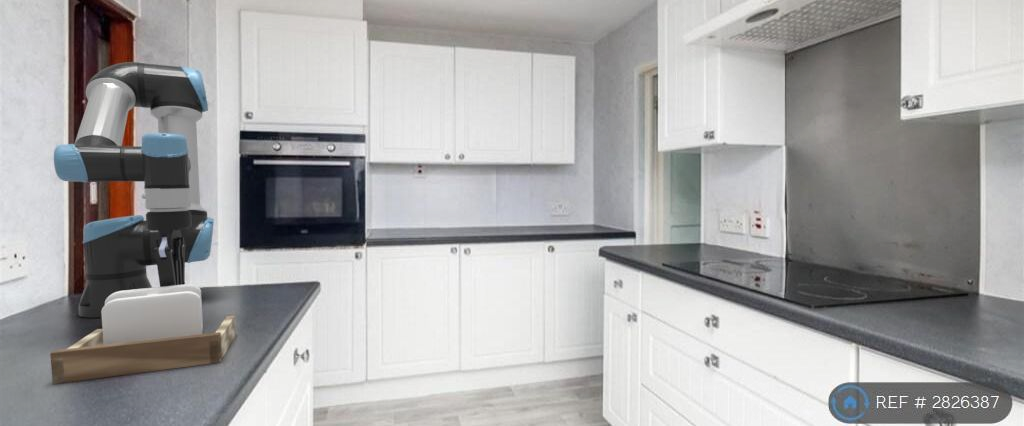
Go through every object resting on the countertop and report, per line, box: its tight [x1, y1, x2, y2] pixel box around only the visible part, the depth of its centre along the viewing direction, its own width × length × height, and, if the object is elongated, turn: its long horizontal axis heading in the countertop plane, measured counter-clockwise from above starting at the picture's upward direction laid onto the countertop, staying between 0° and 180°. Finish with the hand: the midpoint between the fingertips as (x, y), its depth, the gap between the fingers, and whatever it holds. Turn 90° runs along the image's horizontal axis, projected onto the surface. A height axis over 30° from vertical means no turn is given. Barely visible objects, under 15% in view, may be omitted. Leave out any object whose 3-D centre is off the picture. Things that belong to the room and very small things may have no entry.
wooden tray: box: [50, 315, 237, 385], centre depth 87 cm, size 16×23×5 cm
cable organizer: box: [101, 283, 204, 345], centre depth 89 cm, size 15×11×12 cm
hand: (175, 323), depth 98 cm, fingers closed
